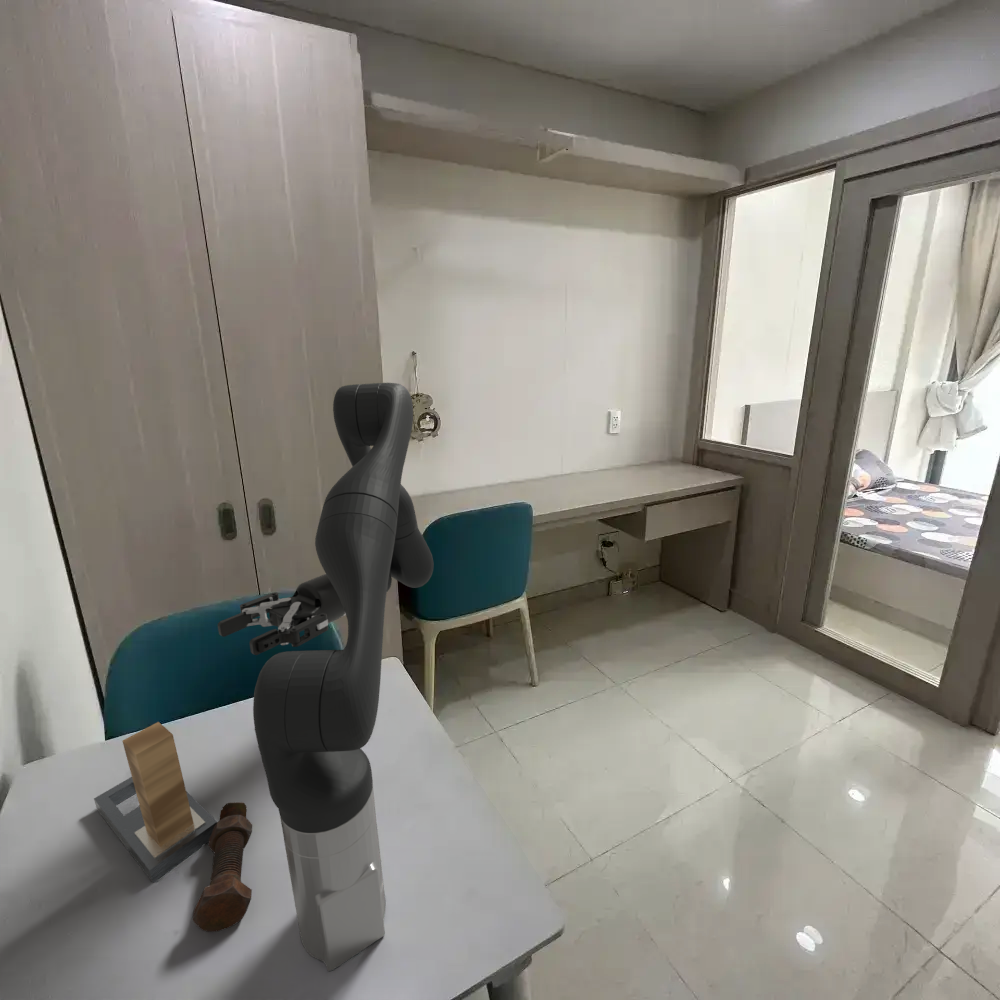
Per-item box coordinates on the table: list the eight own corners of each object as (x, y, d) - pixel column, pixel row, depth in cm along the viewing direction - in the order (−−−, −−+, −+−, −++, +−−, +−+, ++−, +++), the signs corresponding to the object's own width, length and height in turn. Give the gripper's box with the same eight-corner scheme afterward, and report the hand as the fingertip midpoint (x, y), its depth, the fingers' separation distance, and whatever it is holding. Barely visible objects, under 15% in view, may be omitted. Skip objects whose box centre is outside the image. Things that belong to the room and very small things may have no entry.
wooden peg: (193, 823, 67) (172, 734, 63) (160, 846, 64) (136, 754, 60) (179, 808, 69) (158, 721, 65) (146, 830, 66) (122, 740, 62)
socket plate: (219, 833, 68) (216, 820, 67) (152, 882, 62) (149, 868, 61) (159, 772, 78) (156, 760, 78) (97, 809, 72) (93, 797, 71)
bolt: (244, 829, 71) (234, 935, 57) (205, 825, 69) (186, 935, 55) (261, 791, 71) (256, 890, 57) (223, 787, 68) (208, 888, 55)
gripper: (304, 565, 87) (205, 601, 74) (359, 584, 78) (259, 629, 66) (309, 605, 88) (213, 647, 76) (364, 628, 80) (267, 680, 68)
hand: (235, 639), depth 71 cm, fingers open, 8 cm apart
